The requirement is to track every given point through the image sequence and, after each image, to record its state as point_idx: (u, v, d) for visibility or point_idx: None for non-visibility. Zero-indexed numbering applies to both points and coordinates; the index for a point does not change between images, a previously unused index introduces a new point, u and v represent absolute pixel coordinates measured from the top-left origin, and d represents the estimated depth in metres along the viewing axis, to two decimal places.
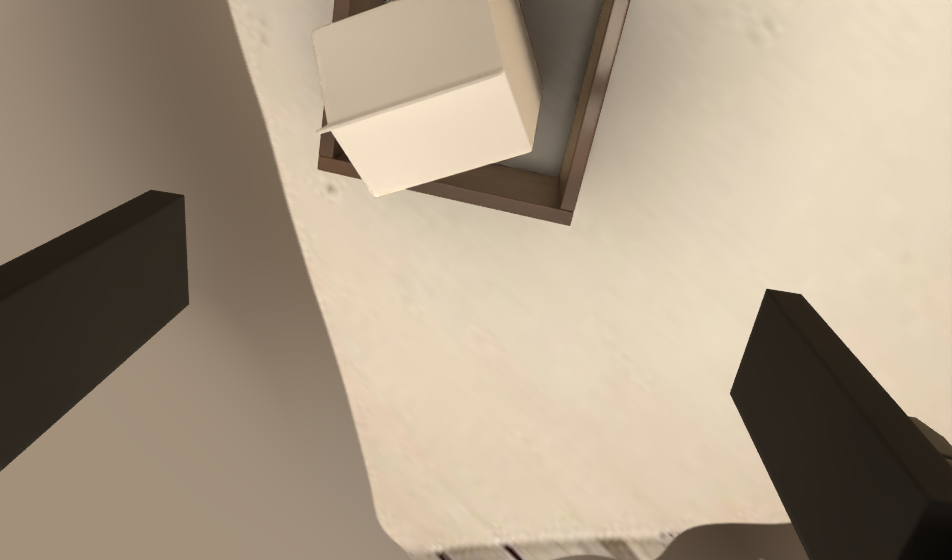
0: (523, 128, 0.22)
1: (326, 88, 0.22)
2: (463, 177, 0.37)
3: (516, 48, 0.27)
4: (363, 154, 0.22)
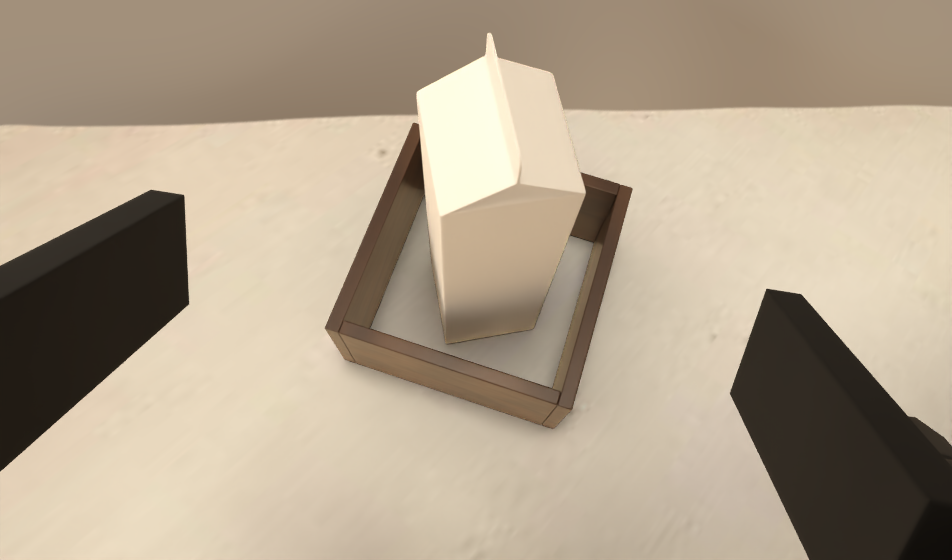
0: (463, 205, 0.25)
1: (513, 65, 0.27)
2: (383, 247, 0.40)
3: (507, 261, 0.31)
4: (457, 81, 0.27)
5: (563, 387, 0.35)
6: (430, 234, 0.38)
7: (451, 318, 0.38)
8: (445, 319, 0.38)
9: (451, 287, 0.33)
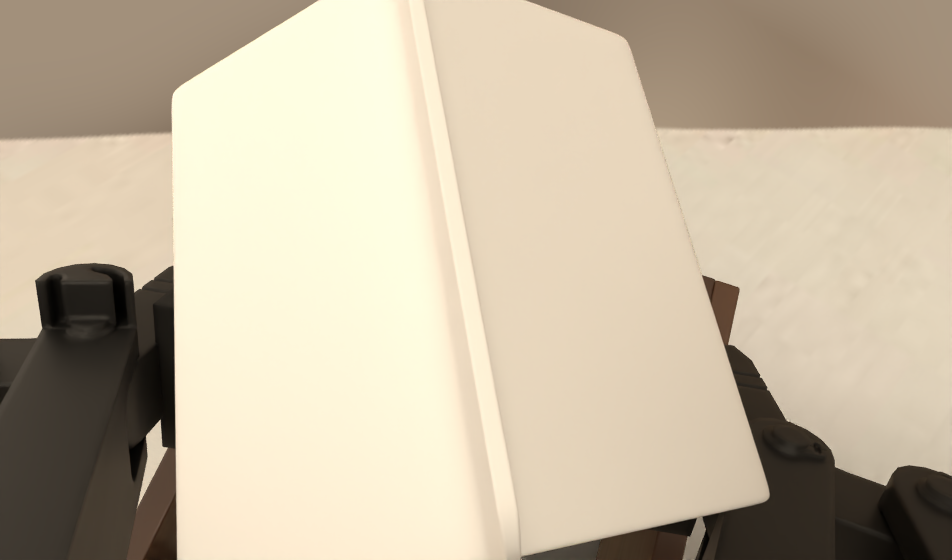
0: None
1: (497, 6, 0.08)
2: None
3: None
4: (292, 56, 0.07)
5: None
6: None
7: None
8: None
9: None
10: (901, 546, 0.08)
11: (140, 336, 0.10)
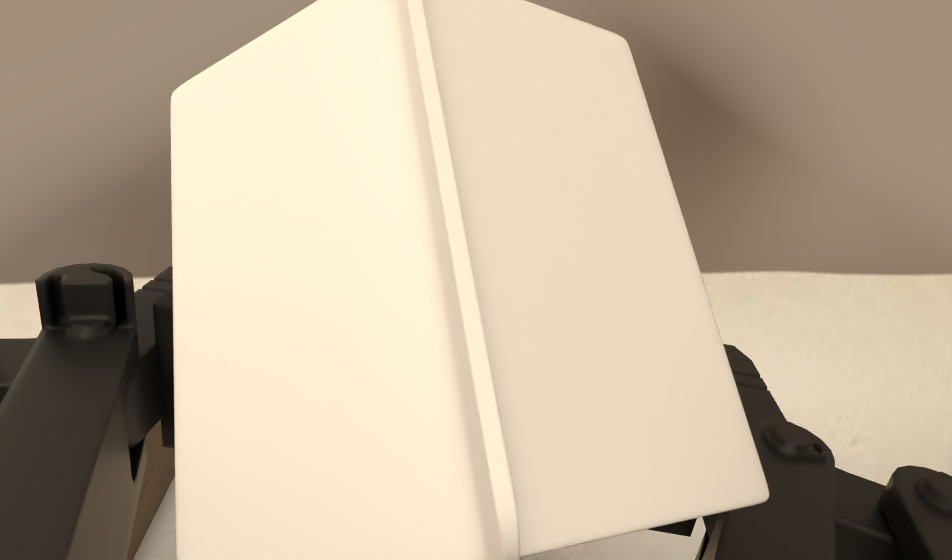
0: None
1: (496, 6, 0.08)
2: None
3: None
4: (290, 56, 0.07)
5: None
6: None
7: None
8: None
9: None
10: (901, 545, 0.08)
11: (140, 336, 0.10)
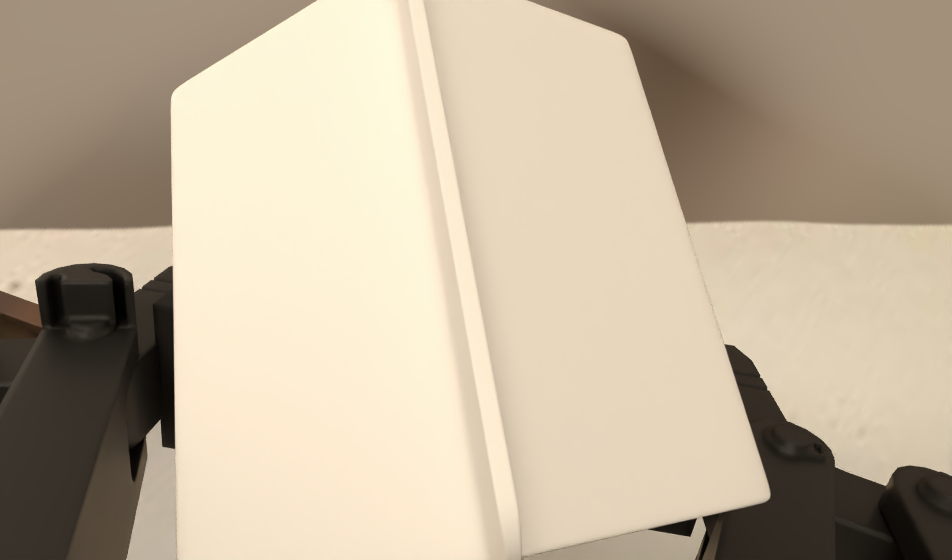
0: None
1: (496, 4, 0.08)
2: None
3: None
4: (291, 56, 0.07)
5: None
6: None
7: None
8: None
9: None
10: (901, 546, 0.08)
11: (140, 336, 0.10)
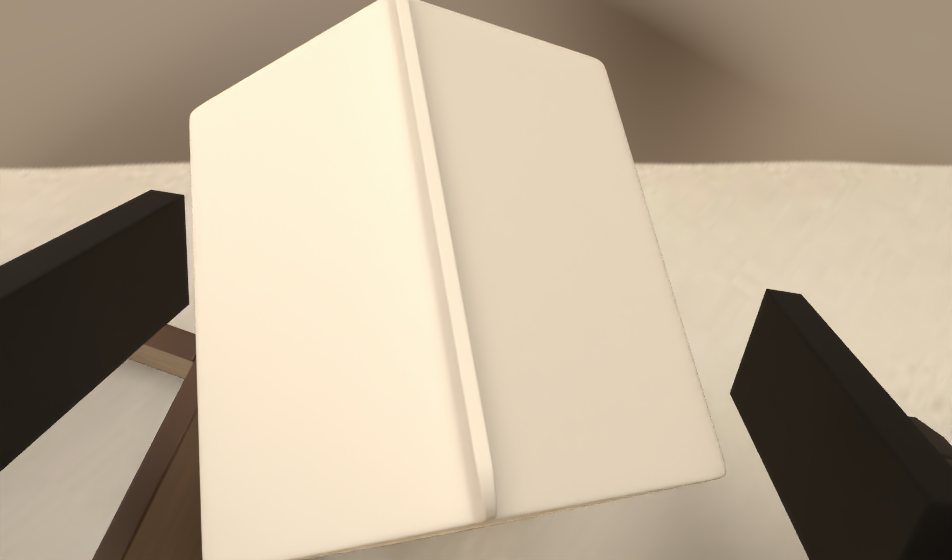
0: (276, 558, 0.07)
1: (484, 35, 0.09)
2: None
3: None
4: (300, 82, 0.08)
5: None
6: None
7: None
8: None
9: None
10: None
11: None
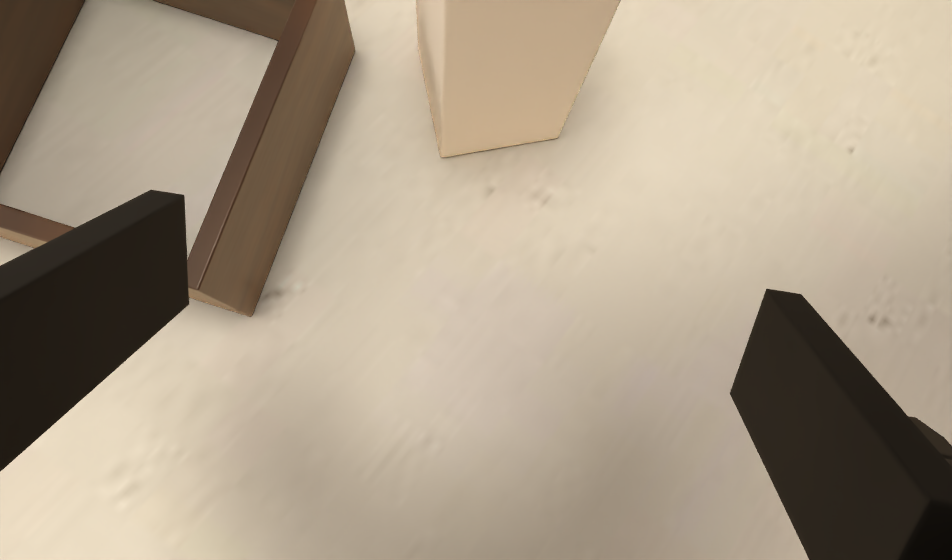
0: None
1: None
2: None
3: None
4: None
5: (189, 257, 0.23)
6: None
7: (451, 107, 0.27)
8: (442, 108, 0.27)
9: (455, 36, 0.22)
10: None
11: None
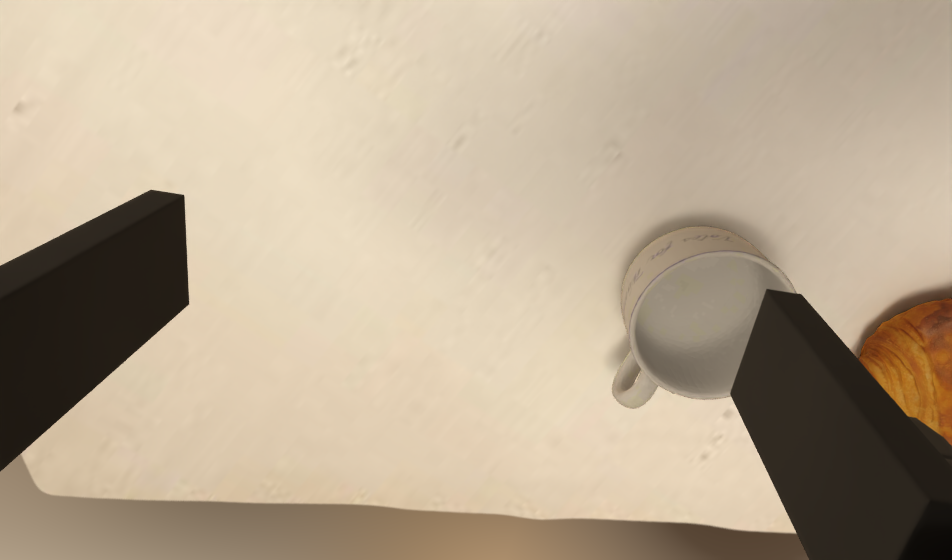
0: None
1: None
2: None
3: None
4: None
5: None
6: None
7: None
8: None
9: None
10: None
11: None
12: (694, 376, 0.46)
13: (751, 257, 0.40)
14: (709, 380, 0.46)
